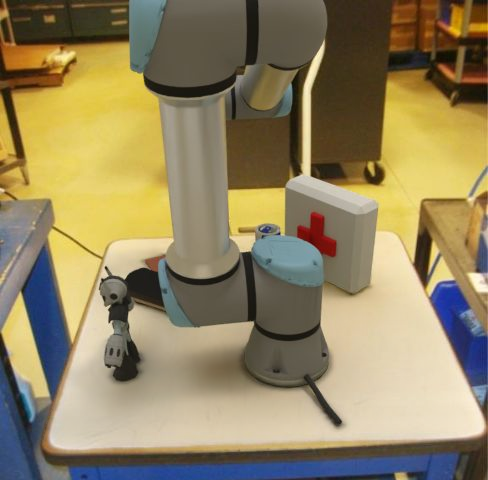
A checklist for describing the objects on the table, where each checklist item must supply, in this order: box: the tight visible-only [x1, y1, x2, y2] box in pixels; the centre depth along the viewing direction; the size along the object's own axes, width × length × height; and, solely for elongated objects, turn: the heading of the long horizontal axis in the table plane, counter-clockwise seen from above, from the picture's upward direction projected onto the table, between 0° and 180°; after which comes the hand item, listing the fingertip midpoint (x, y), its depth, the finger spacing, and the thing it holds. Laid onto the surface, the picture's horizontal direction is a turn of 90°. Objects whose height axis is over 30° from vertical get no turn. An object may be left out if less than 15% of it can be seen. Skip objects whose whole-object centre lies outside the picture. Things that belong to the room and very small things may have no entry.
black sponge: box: [124, 266, 166, 312], centre depth 129 cm, size 16×8×4 cm, turn 59°
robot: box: [98, 265, 141, 382], centre depth 106 cm, size 20×5×20 cm, turn 2°
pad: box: [144, 254, 166, 272], centre depth 144 cm, size 8×20×1 cm, turn 116°
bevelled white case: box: [284, 173, 379, 295], centre depth 130 cm, size 21×8×20 cm, turn 42°
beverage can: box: [254, 222, 282, 243], centre depth 127 cm, size 5×5×15 cm
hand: (198, 239), depth 138 cm, fingers closed
